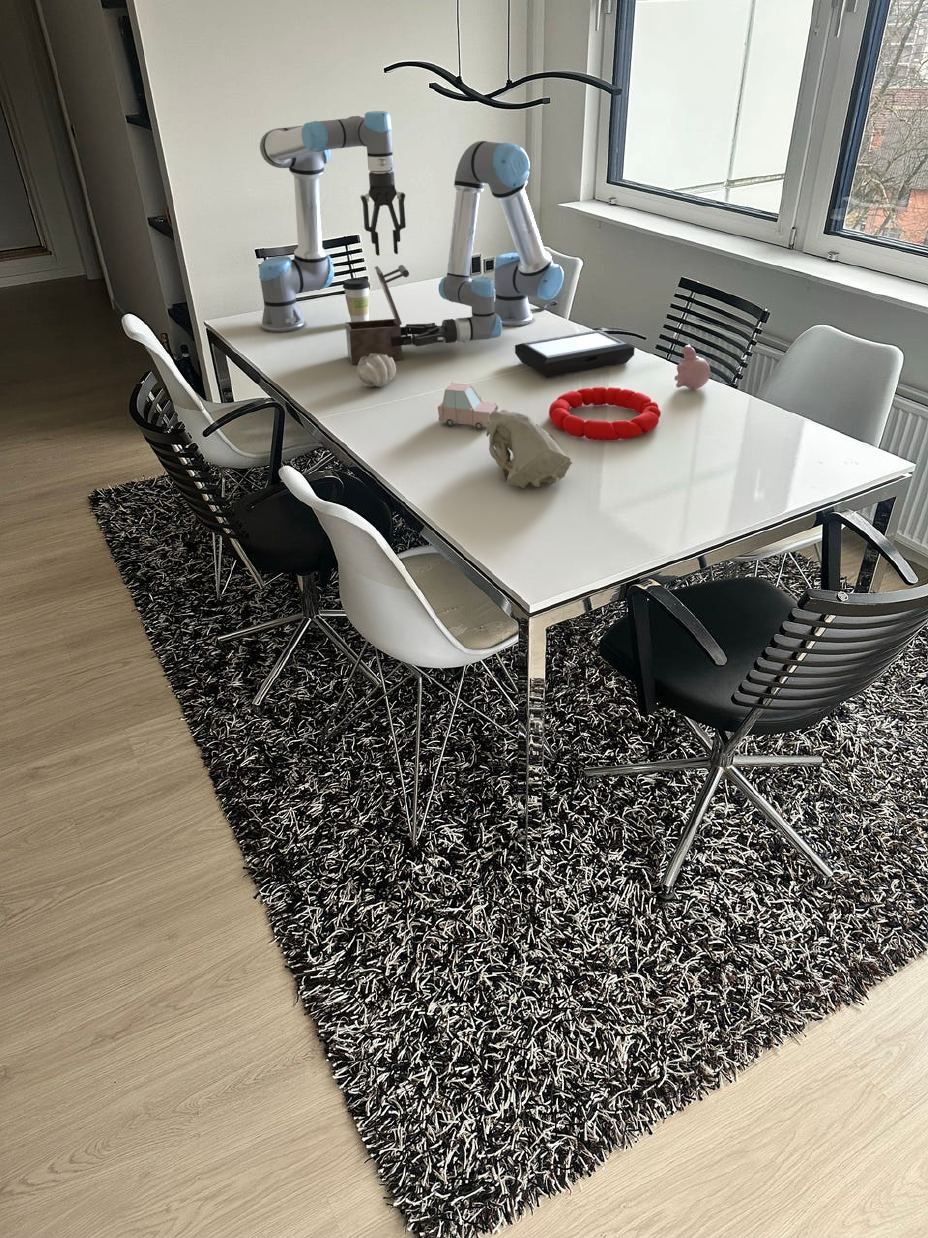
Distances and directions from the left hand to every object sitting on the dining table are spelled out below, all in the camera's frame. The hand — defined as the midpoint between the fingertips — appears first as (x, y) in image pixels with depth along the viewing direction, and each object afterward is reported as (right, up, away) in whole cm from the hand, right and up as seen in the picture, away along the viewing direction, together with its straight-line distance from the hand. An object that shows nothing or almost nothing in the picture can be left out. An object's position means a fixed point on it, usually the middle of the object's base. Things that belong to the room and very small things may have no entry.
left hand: (386, 253), depth 278 cm
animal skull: (+38, -77, -58) cm, 104 cm away
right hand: (-1, -22, +14) cm, 26 cm away
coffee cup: (-14, -5, +49) cm, 52 cm away
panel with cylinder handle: (-1, -11, +7) cm, 13 cm away
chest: (-5, -28, +17) cm, 33 cm away
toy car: (+25, -60, -32) cm, 73 cm away
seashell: (-2, -43, -6) cm, 43 cm away
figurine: (+91, -46, -15) cm, 103 cm away
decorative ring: (+62, -60, -34) cm, 93 cm away
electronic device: (+59, -32, +7) cm, 68 cm away
